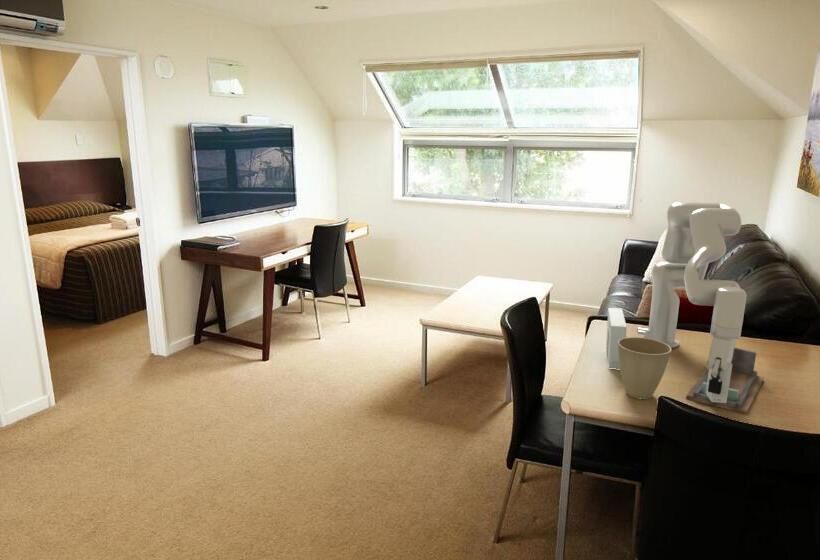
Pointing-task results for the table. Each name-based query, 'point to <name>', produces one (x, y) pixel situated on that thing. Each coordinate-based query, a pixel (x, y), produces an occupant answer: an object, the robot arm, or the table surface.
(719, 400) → the skincare box
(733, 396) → the pusher
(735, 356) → the tray
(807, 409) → the table surface
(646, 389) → the plant pot
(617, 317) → the skincare box
